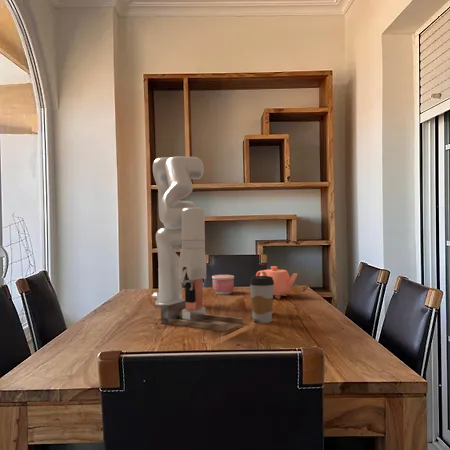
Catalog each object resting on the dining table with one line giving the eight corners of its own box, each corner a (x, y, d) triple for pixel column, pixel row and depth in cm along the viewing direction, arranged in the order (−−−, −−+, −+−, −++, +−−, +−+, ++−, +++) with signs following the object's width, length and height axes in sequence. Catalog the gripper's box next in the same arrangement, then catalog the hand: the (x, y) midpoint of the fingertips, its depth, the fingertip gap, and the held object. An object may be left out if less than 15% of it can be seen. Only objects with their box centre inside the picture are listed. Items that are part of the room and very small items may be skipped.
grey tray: (161, 326, 147) (160, 304, 147) (182, 319, 158) (182, 298, 157) (224, 335, 135) (224, 311, 135) (243, 326, 146) (243, 304, 145)
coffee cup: (276, 319, 156) (276, 276, 156) (271, 324, 148) (270, 279, 148) (253, 317, 159) (253, 275, 158) (246, 323, 151) (246, 278, 150)
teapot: (298, 298, 195) (298, 267, 195) (262, 301, 190) (261, 269, 190) (284, 292, 211) (283, 264, 210) (249, 295, 206) (249, 265, 206)
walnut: (177, 322, 149) (176, 310, 149) (184, 319, 152) (183, 307, 152) (187, 322, 147) (186, 309, 147) (194, 319, 150) (193, 307, 150)
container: (234, 294, 207) (234, 277, 206) (211, 295, 207) (211, 277, 207) (234, 291, 217) (234, 274, 217) (212, 291, 217) (212, 274, 217)
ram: (181, 323, 145) (180, 279, 145) (196, 317, 153) (196, 276, 153) (191, 324, 143) (191, 280, 143) (206, 319, 151) (206, 277, 151)
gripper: (197, 243, 157) (198, 296, 157) (168, 246, 142) (169, 304, 142) (216, 244, 153) (217, 298, 153) (188, 247, 138) (188, 306, 139)
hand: (194, 300), depth 148 cm, fingers closed on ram, 4 cm apart
